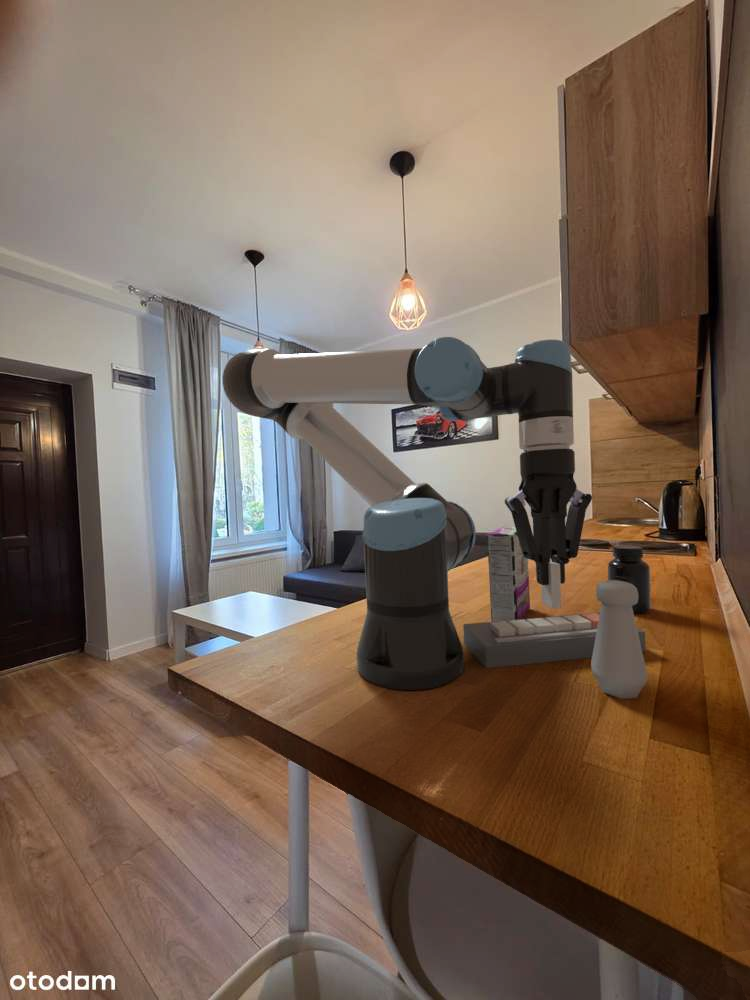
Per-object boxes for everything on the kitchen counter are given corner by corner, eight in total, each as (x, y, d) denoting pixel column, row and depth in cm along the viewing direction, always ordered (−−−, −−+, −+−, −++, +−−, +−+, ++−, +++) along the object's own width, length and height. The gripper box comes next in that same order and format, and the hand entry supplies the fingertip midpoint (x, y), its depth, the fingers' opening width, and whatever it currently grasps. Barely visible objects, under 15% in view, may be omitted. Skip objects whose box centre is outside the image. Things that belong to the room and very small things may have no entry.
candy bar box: (505, 605, 81) (502, 526, 80) (530, 608, 78) (528, 526, 77) (489, 622, 71) (485, 533, 71) (517, 626, 69) (514, 533, 68)
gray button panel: (486, 668, 54) (485, 639, 54) (464, 642, 63) (463, 618, 63) (645, 652, 57) (644, 624, 57) (602, 629, 66) (601, 606, 65)
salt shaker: (660, 702, 44) (658, 588, 44) (608, 704, 44) (606, 589, 44) (627, 677, 50) (625, 576, 49) (582, 678, 50) (579, 577, 49)
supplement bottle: (660, 612, 73) (659, 548, 72) (630, 616, 71) (629, 551, 71) (628, 601, 80) (626, 543, 79) (600, 605, 78) (598, 545, 78)
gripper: (516, 448, 54) (523, 616, 55) (603, 445, 56) (608, 609, 56) (494, 453, 62) (499, 601, 62) (571, 450, 63) (576, 595, 64)
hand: (551, 605), depth 59 cm, fingers closed
